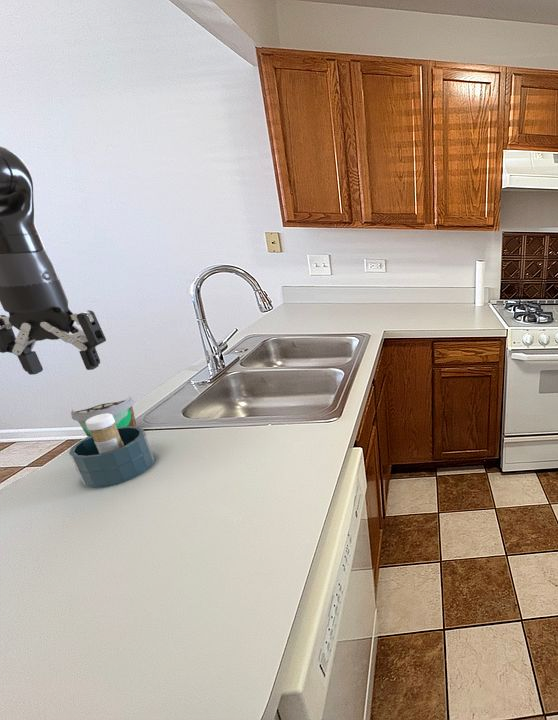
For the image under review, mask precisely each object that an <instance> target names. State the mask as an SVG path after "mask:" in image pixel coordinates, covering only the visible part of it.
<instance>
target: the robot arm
mask: <svg viewBox="0 0 558 720" xmlns="http://www.w3.org/2000/svg"><path fill="white" fill-rule="evenodd" d="M35 209H36V208H35V187H34V179H33V176H32V173H31V171H30V169H29V167H28V166H27V164H26V162H24V160H23V159H22V158H21V157H20V156H18V154H16V153H15V152H13V151H12V150H11V149H8V148H6V147H3V146H0V305H1V308H2V309H3V310H4V311H5V312H6V313H8V315H9V316H8V315H5V314H0V353H2V354H5V353H8V354H9V353H10V354H13V355H15V356H16V357H17V359H18V361H19V363H20V364H21V367H22V369H23V370H24V371H25V372H26V373H27V374H28V375H37V374H39V373H41V372H43V370H44V368H43V365H42V363H41V361H40V359H39V356H38V354H37V351H35V350H33V349H34V347H35V345H36V343H37V342H39V341H45V340H51V341H57V340H61V341H63V342H64V343H66V344H71V345H72V346H74V347H75V348H76V349H78V350H79V351H78V353H79V354H80V357H81V360H82V362H83V365H84V367H85V370H87V371H92V370H95V369H97V368H98V367H99V365H100V364H101V359H100V357H99V356H100V355H99V354H98V351H97V349H96V348H97V346H99V345H101V344H104V343H106V342H107V338H106V336H105V334H104V331H103V330H102V329H103V328H102V327H101V324H100V322H99V321H98V319H97V316H96V313H95V312H94V311H93V310H90V309H89V310H85V311H83V312H77V313H75V312H72V310H70V308H69V300H68V298H67V295H66V293H65V290H64V288H63V285H62V282H61V280H60V277H59V275H58V273H57V270H56V267H55V265H54V262H53V261H52V259H51V257H50V256H49V254H48V252H47V250H46V248H45V244H44V242H43V240H42V238H41V235H40V232H39V230H38V228H37V225H36V210H35ZM75 322H76V325H75ZM77 325H78V326H80V327H81V328H79V327H78V326H77ZM13 327H14V328H15V329H17V330H18V333H17V336H16V335H15V332H14V330H13Z"/></svg>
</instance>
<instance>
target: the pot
mask: <svg viewBox="0 0 558 720" xmlns="http://www.w3.org/2000/svg"><path fill="white" fill-rule="evenodd" d="M117 430H118V432H119V435H120V437H121V440H122V441H123V443H124V446H123V447H120V448H118V449H115V450H113V451H109V452H106V453H102V454H99V452H98V449H97V447H96V445H95V442H94V439H93V437H92V435H91V436H89V437H88V436H87V437H85V438H84V439H82V440H80V441H78V442H77V443H75V444H74V445H73V446H71V448H70V449H69V452H68V455H69V456H70V458H71V461H72V463H73V465H74V467H75V469H76V472H77V474H78V477H79V479H80V480H81V482H82V484H83V485H84V486H85V487H87V488H91V489H101V488H102V489H103V488H108V487H113V486H117V485H119V484H122V483H126V482H128V481H131V480H133V479H135V478H137V477H139V476H140V475H142V474H143V473H145V472H147V471H148V470H149V469H150V468H151V467H152V466H153V464H154V462H155V458H154V453H153V451H152V448H151V445H150V443H149V440H148V437H147V434H146V431H145V429H143V428H142V427H140V426H137V427H135V426H127V427H118V428H117Z"/></svg>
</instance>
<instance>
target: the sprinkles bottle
mask: <svg viewBox="0 0 558 720" xmlns="http://www.w3.org/2000/svg"><path fill="white" fill-rule="evenodd" d="M85 423H86V426H87V428H88V430H89V431H90V432H91V435H92V437H93V439H94V442H95V445H96V447H97V449H98V452H99V454H102V453H106V452H109V451H113V450H115V449H118V448H120V447H123V446H124V443H123V441H122V440H121V437H120V435H119V432H118V430H117V428H116V425H115V420H114V417H113V415H112V414H100V415H96V416H93V417H91V418H89V419H88V420H86V422H85Z"/></svg>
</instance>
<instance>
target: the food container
mask: <svg viewBox="0 0 558 720" xmlns="http://www.w3.org/2000/svg"><path fill="white" fill-rule="evenodd" d="M135 403H136V402H135V400H134V398H133V397H131V396H130V395H128V397H127V398H126V399H124V400H120V401H115V402H107V403H101V404H98V405H95V406H93V407H88V408H86V409H85V408H84V409H81V410H76V411H74V409H73V408H71V411H70V415H71V419H72V420H73V421H75V422H78V424H79V425H80V427H81V429H82V430H83V432H84V433H85V435H86V436H87V437H88V436H91V432H90V431H89V430H88V428H87V426H86V423H85V422H86V420H88V419H89V418H91V417H93V416H96V415H100V414H112V415H113V417H114V420H115V425H116V428H118V427H127V426H135V427H138V426H137V421H136V417H135V411H134V407H133V406H134V405H135Z"/></svg>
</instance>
